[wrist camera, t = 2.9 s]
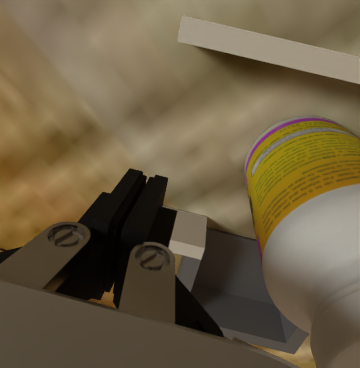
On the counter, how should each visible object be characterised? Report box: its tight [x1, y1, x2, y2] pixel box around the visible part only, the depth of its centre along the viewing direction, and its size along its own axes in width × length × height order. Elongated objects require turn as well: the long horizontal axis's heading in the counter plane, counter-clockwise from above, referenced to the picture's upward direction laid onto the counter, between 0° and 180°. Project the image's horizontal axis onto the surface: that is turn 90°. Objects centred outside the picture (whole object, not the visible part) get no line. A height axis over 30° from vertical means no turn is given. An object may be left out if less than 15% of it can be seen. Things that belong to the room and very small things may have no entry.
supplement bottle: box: [245, 116, 360, 368], centre depth 12 cm, size 7×7×13 cm
